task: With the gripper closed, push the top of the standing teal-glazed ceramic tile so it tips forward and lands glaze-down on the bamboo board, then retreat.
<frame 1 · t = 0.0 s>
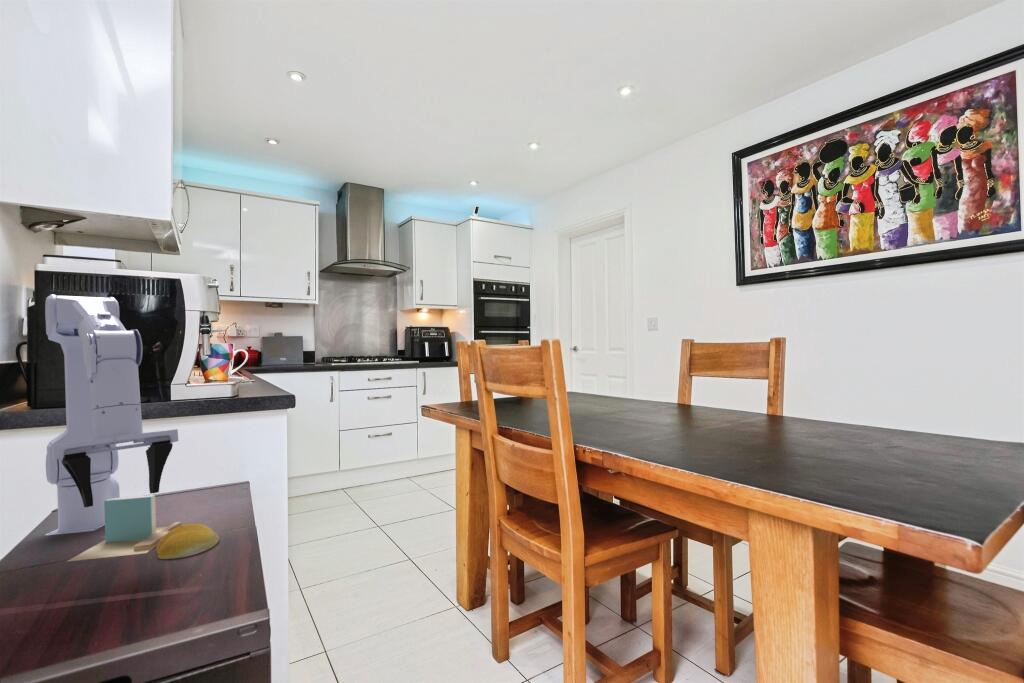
hand: (122, 499, 71), 11 cm above the table, tool pointing down, fingers open, 7 cm apart
board: (132, 545, 81), on the table
bread roll: (187, 553, 77), on the table
spatula: (159, 538, 82), point 1 cm above the table, touching board
tile: (131, 538, 82), point 1 cm above the table, touching board
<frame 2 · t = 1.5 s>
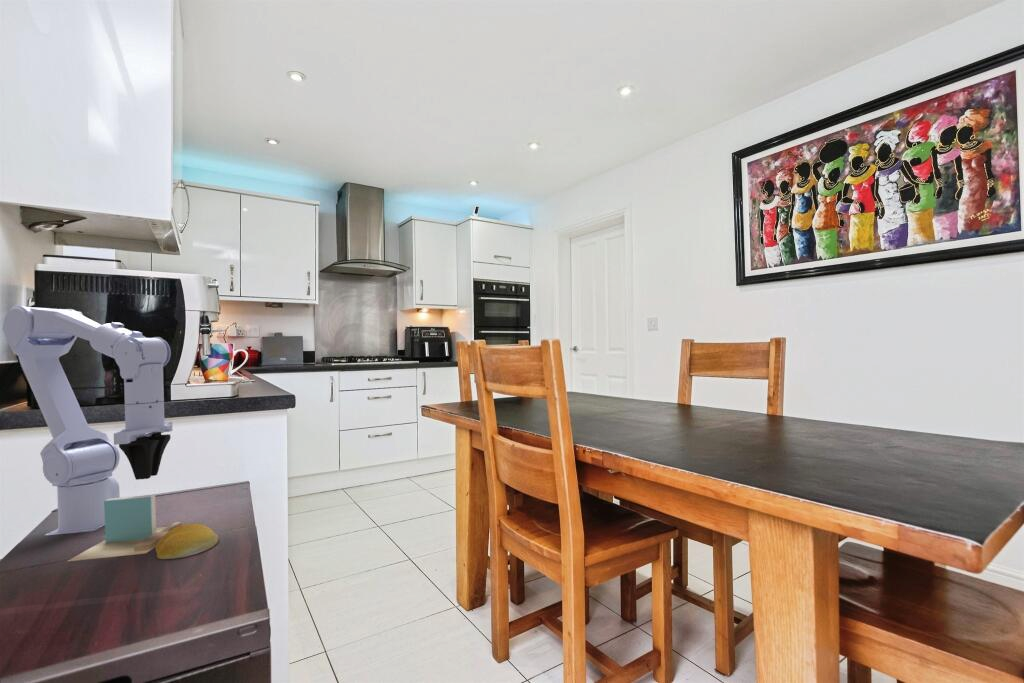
hand: (146, 477, 87), 10 cm above the table, tool pointing down, fingers closed
nothing on the table moved.
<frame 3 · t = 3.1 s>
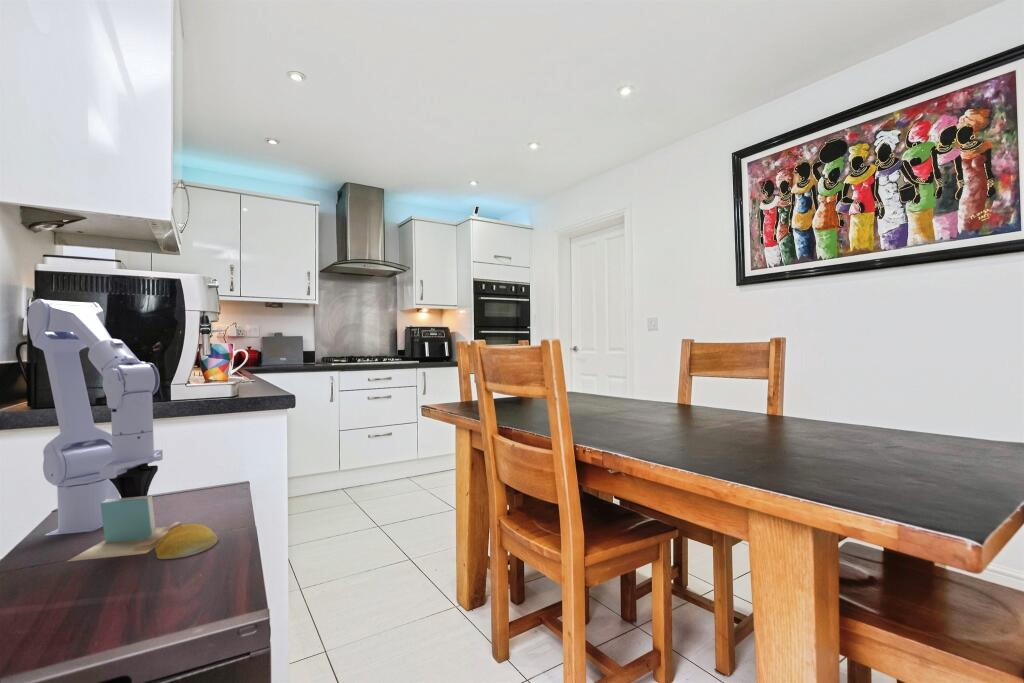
hand: (135, 510, 84), 5 cm above the table, tool pointing down, fingers closed
tile: (131, 538, 82), point 1 cm above the table, tilted 8°, touching board, gripper
everything else where it was.
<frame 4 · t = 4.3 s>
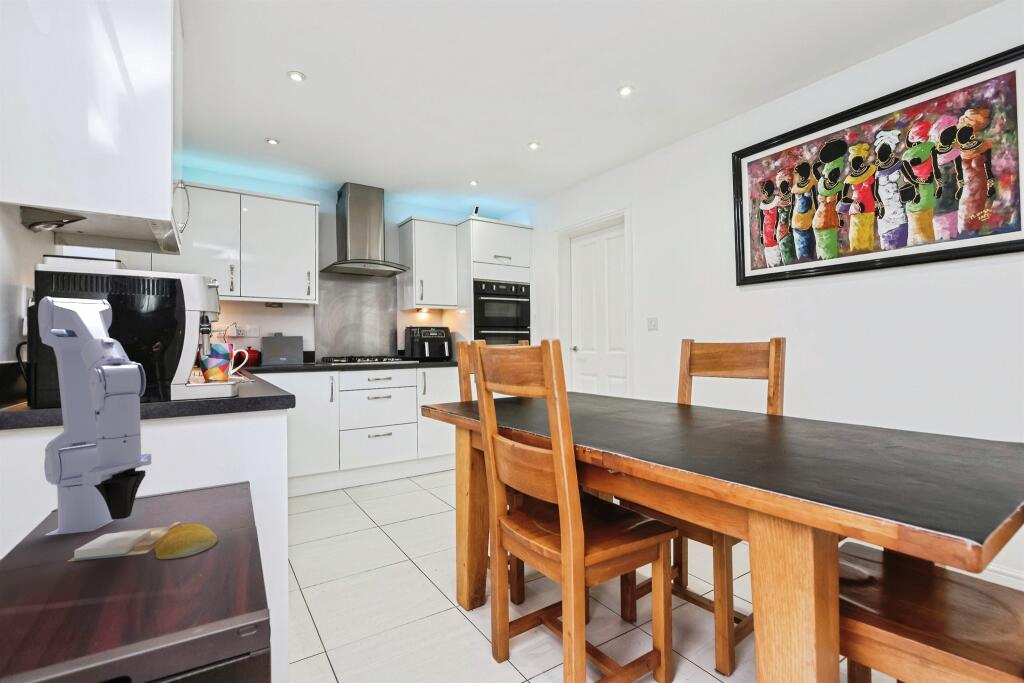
hand: (121, 517, 80), 5 cm above the table, tool pointing down, fingers closed
tile: (127, 536, 81), point 1 cm above the table, tilted 90°, touching board
everything else where it was.
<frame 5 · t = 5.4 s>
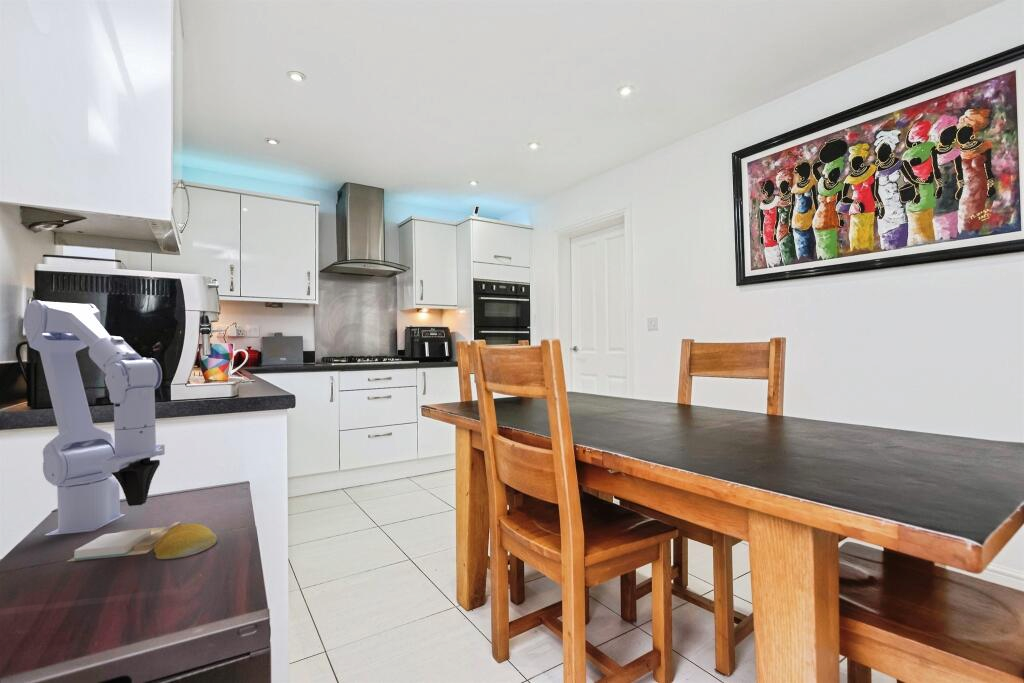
hand: (137, 504, 84), 6 cm above the table, tool pointing down, fingers closed
nothing on the table moved.
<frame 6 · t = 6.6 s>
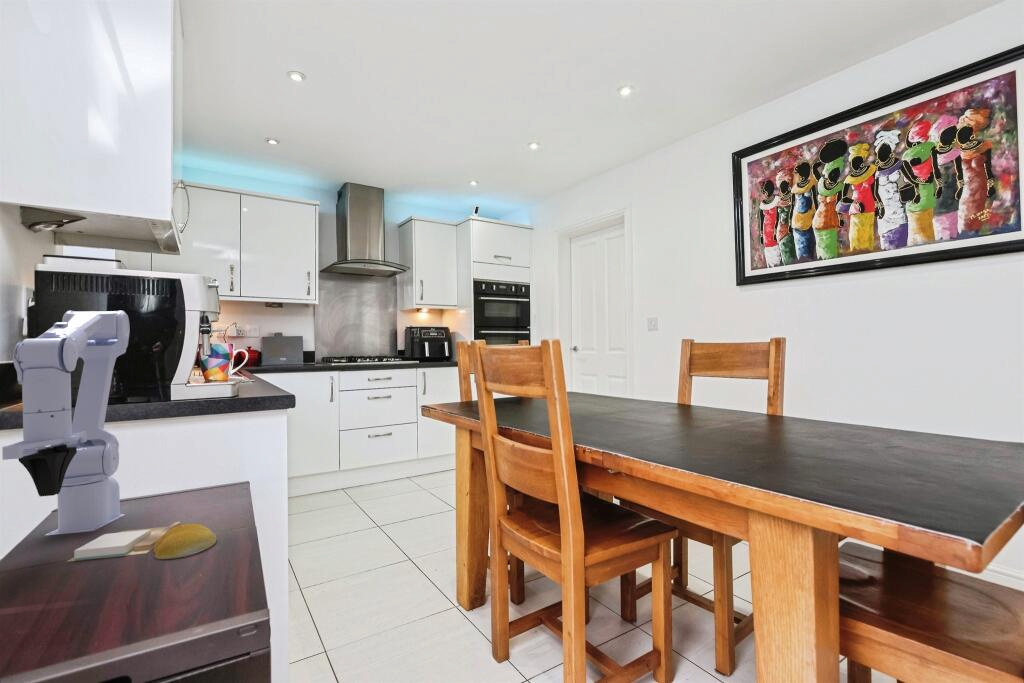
hand: (49, 494, 78), 10 cm above the table, tool pointing down, fingers closed
nothing on the table moved.
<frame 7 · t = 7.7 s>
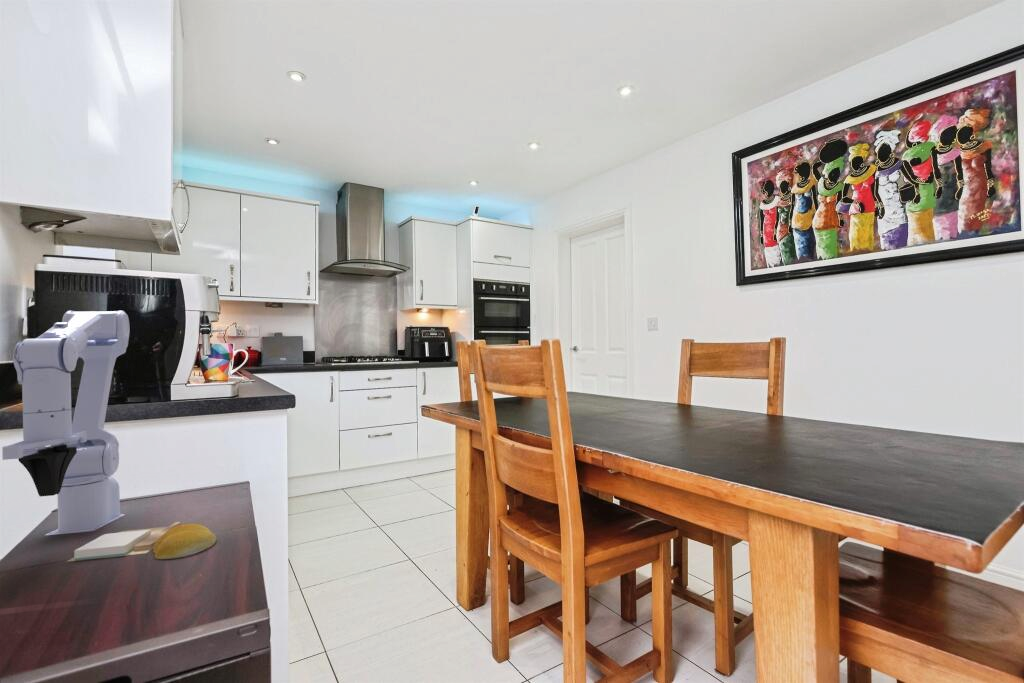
hand: (49, 494, 78), 10 cm above the table, tool pointing down, fingers closed
nothing on the table moved.
at the end: tile tilted 90°; tile inside the target area (3.1 cm from its centre), point 1.3 cm above the table; spatula touching board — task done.
